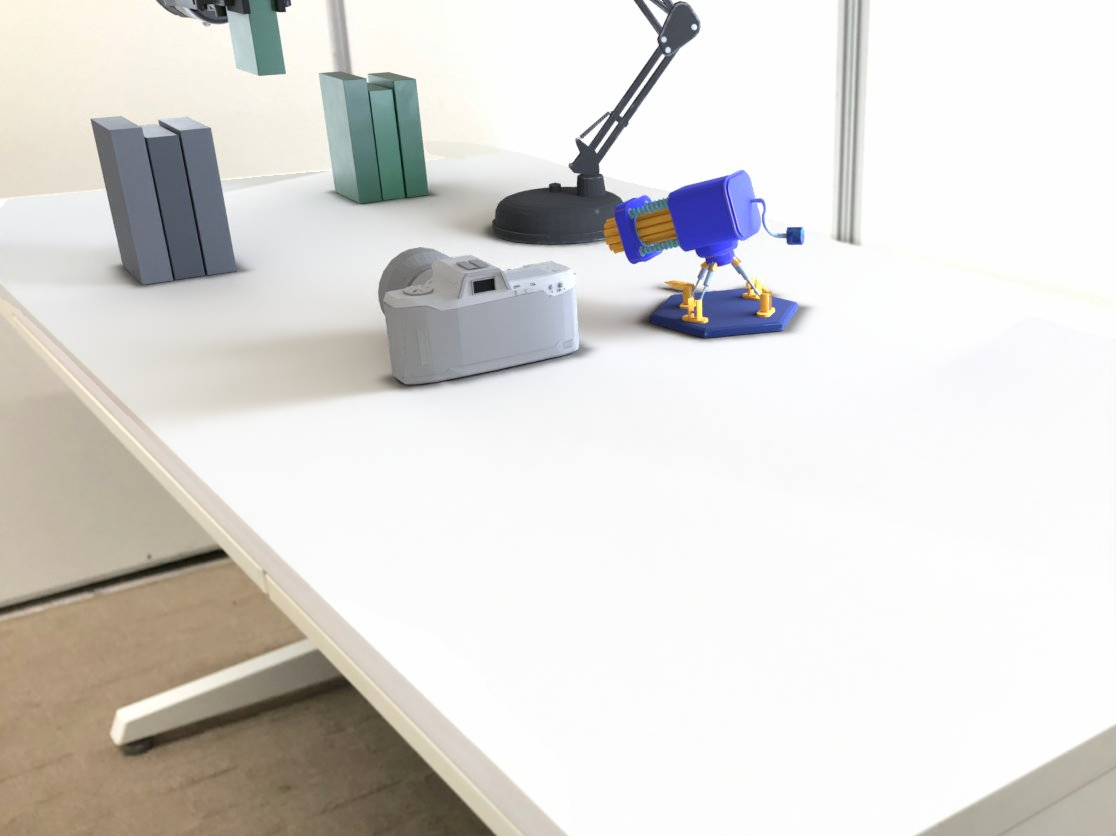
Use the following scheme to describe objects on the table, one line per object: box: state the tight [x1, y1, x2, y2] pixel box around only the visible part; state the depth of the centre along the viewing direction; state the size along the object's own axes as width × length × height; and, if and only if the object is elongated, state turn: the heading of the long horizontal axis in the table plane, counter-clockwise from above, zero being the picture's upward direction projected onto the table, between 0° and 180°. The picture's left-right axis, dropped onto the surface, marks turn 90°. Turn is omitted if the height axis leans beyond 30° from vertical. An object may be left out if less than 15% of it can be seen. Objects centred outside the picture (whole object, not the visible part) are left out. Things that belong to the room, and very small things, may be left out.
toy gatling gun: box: [604, 169, 805, 339], centre depth 116 cm, size 14×18×13 cm
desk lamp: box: [491, 0, 702, 245], centre depth 139 cm, size 24×26×45 cm
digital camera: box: [377, 246, 580, 385], centre depth 107 cm, size 17×14×10 cm
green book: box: [226, 0, 287, 77], centre depth 143 cm, size 9×3×14 cm, turn 34°
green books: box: [318, 71, 429, 204], centre depth 164 cm, size 9×9×14 cm
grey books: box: [90, 115, 238, 286], centre depth 130 cm, size 9×9×15 cm
